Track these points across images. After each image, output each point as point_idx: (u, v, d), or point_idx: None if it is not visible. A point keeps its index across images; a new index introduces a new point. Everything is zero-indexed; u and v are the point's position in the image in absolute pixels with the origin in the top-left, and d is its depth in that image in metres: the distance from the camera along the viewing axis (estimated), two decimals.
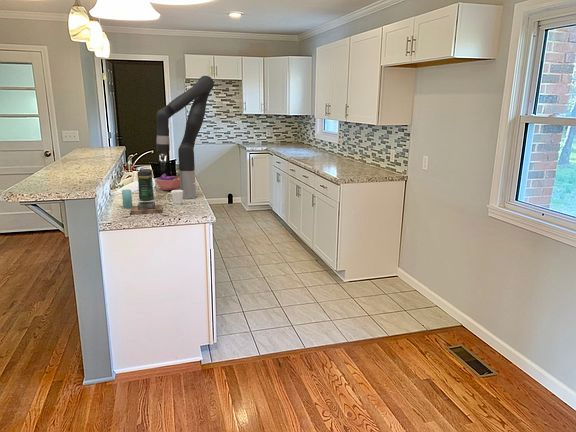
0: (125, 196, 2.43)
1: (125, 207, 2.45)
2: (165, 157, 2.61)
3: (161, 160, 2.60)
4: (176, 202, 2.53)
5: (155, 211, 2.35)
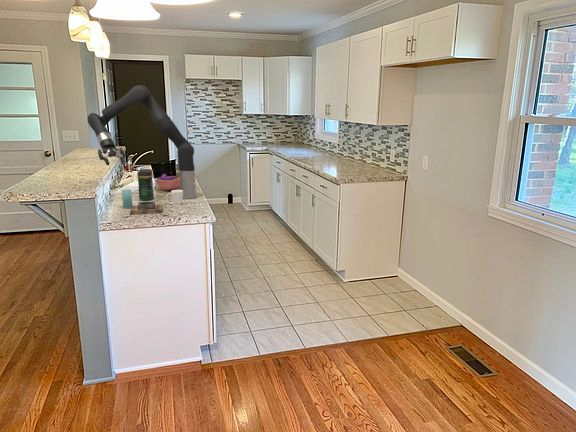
0: (125, 196, 2.43)
1: (125, 207, 2.45)
2: (107, 151, 2.49)
3: None
4: (176, 202, 2.53)
5: (155, 211, 2.35)
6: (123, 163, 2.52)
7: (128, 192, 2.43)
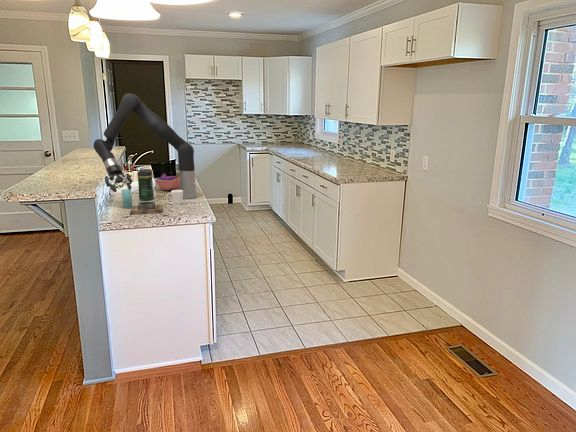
0: (125, 196, 2.43)
1: (125, 207, 2.45)
2: (113, 178, 2.48)
3: (111, 183, 2.48)
4: (176, 202, 2.53)
5: (155, 211, 2.35)
6: (130, 189, 2.51)
7: (128, 192, 2.43)
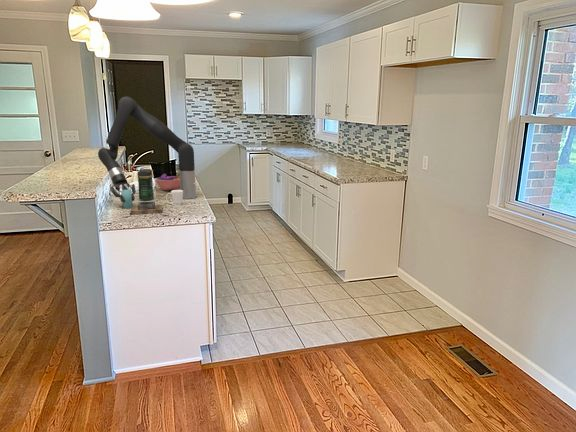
0: (125, 196, 2.43)
1: (125, 207, 2.45)
2: (119, 188, 2.45)
3: (118, 193, 2.45)
4: (176, 202, 2.53)
5: (155, 211, 2.35)
6: (133, 200, 2.47)
7: (128, 192, 2.43)
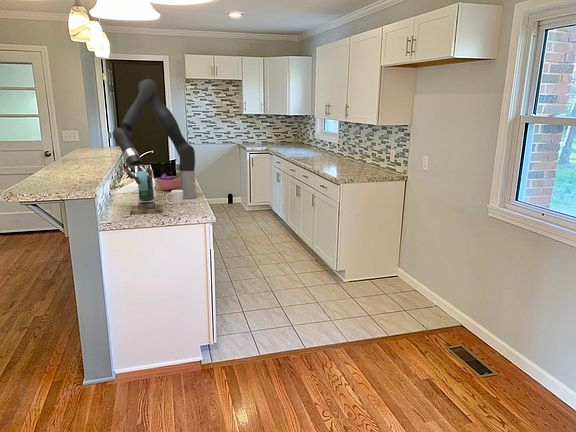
0: (141, 178, 2.33)
1: (141, 189, 2.35)
2: (135, 169, 2.35)
3: (134, 175, 2.35)
4: (176, 202, 2.53)
5: (155, 211, 2.35)
6: (149, 182, 2.37)
7: (144, 173, 2.33)
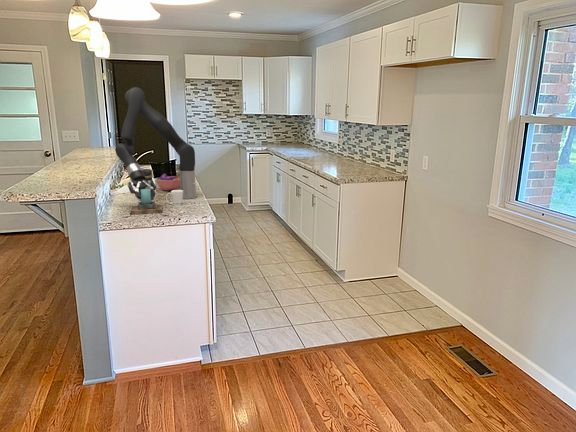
0: (144, 196, 2.35)
1: None
2: (137, 184, 2.36)
3: (135, 189, 2.36)
4: (176, 202, 2.53)
5: (155, 211, 2.35)
6: (154, 196, 2.39)
7: (147, 192, 2.35)
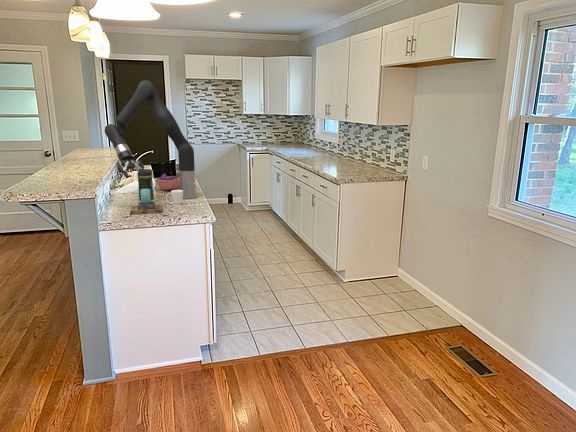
0: (144, 196, 2.35)
1: None
2: (125, 163, 2.42)
3: (123, 169, 2.42)
4: (176, 202, 2.53)
5: (155, 211, 2.35)
6: (142, 175, 2.46)
7: (147, 192, 2.35)
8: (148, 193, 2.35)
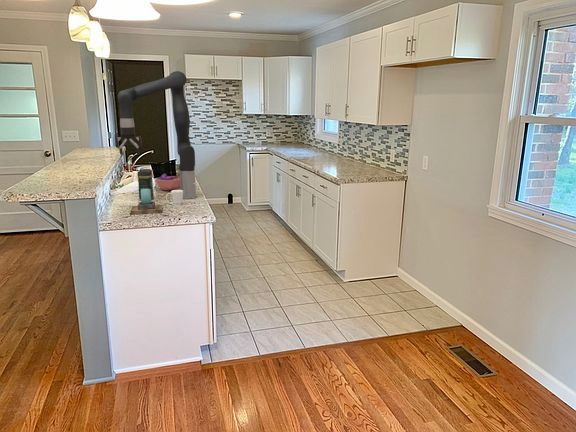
0: (145, 196, 2.35)
1: None
2: (123, 141, 2.49)
3: (121, 144, 2.52)
4: (176, 202, 2.53)
5: (155, 211, 2.35)
6: (137, 154, 2.55)
7: (148, 191, 2.35)
8: (148, 193, 2.36)
